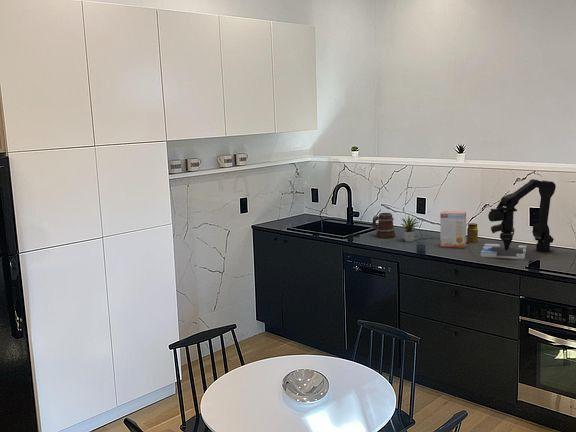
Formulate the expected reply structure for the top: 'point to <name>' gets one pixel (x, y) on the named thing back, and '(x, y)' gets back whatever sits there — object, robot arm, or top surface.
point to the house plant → (409, 229)
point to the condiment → (472, 233)
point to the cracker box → (453, 229)
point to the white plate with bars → (489, 253)
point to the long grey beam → (507, 251)
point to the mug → (384, 225)
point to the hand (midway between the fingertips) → (507, 248)
